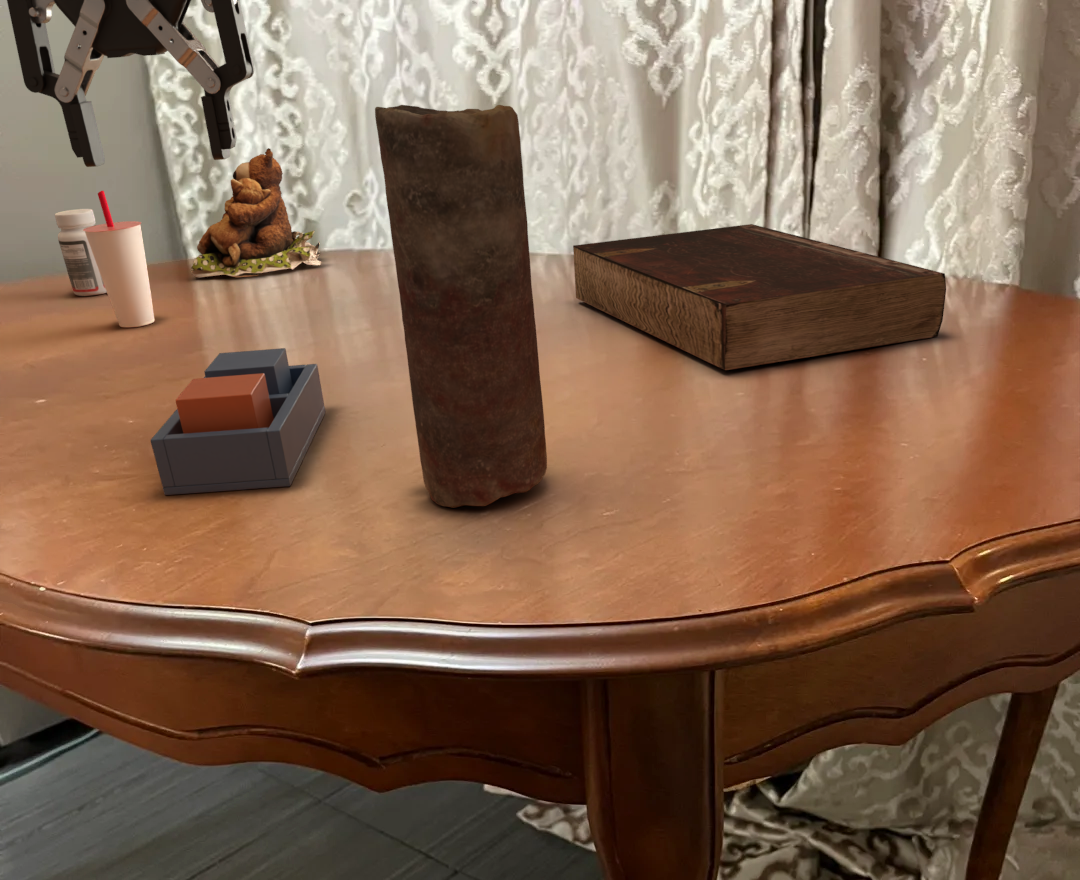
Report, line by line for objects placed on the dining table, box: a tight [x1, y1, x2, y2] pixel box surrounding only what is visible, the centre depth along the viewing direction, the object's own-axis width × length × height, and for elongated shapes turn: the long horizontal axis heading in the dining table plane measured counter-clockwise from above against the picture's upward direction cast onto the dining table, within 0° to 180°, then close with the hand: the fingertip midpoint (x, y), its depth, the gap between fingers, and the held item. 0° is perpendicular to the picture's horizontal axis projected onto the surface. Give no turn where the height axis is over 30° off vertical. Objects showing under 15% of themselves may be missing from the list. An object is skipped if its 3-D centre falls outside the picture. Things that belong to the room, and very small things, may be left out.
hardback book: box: [572, 223, 947, 371], centre depth 94 cm, size 29×19×5 cm, turn 20°
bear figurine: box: [190, 148, 323, 279], centre depth 129 cm, size 14×15×12 cm
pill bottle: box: [54, 208, 107, 297], centre depth 123 cm, size 5×5×8 cm
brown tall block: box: [374, 104, 548, 508], centre depth 60 cm, size 8×7×20 cm
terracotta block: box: [175, 373, 274, 434], centre depth 70 cm, size 5×5×5 cm
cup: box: [83, 190, 156, 328], centre depth 107 cm, size 5×5×12 cm
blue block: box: [204, 347, 293, 395], centre depth 76 cm, size 5×5×5 cm
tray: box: [150, 363, 326, 496], centre depth 73 cm, size 8×15×4 cm, turn 1°
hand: (159, 162), depth 74 cm, fingers open, 8 cm apart
